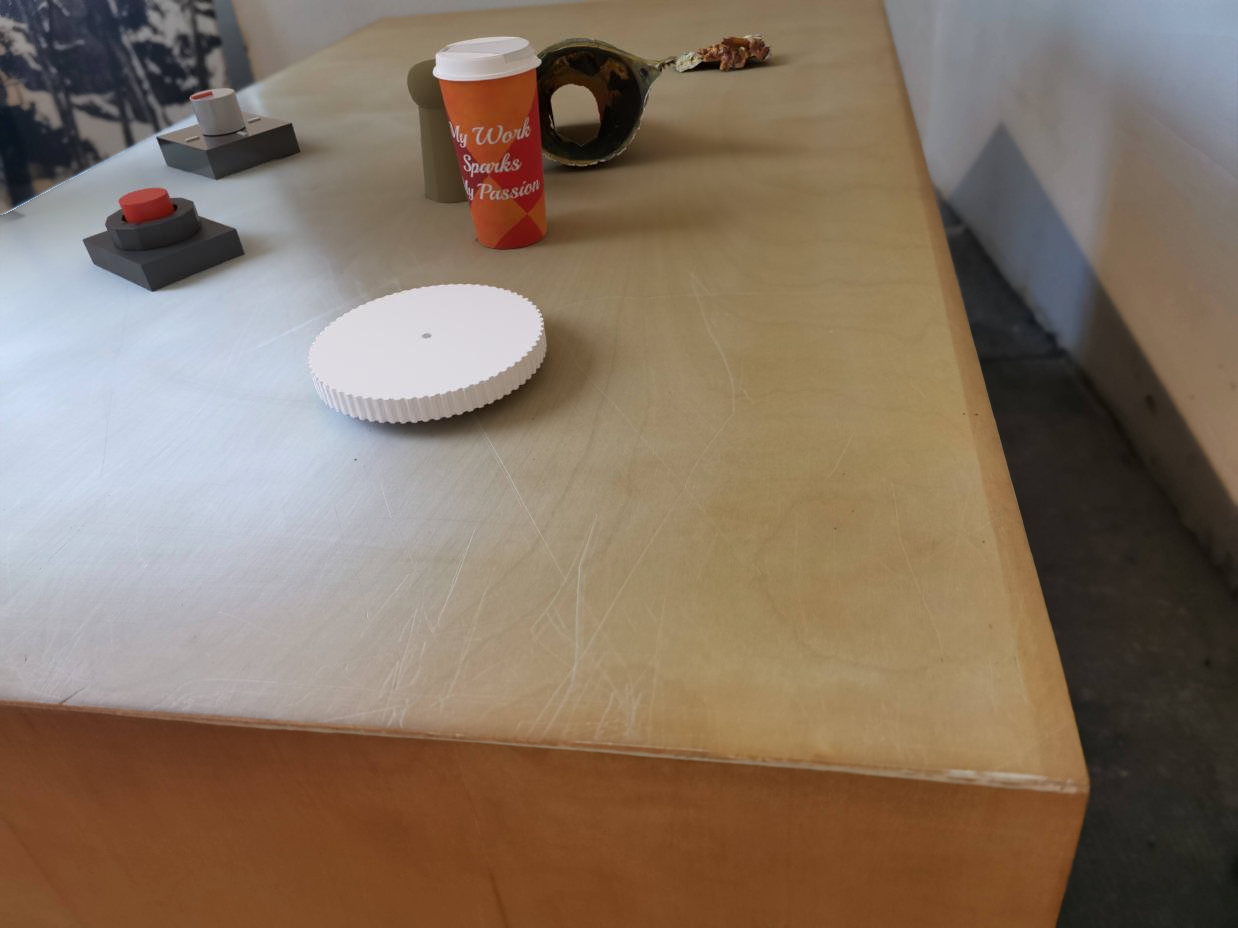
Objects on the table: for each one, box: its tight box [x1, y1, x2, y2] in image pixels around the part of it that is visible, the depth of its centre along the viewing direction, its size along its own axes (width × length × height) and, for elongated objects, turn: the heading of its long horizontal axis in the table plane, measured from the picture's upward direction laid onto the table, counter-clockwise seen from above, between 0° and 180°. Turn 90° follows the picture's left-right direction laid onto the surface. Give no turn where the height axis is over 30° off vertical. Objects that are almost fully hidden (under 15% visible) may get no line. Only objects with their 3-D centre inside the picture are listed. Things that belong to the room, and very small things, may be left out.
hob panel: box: [155, 111, 301, 181], centre depth 91 cm, size 10×10×3 cm
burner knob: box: [189, 87, 245, 135], centre depth 89 cm, size 4×4×4 cm
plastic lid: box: [306, 283, 548, 424], centre depth 52 cm, size 14×14×2 cm
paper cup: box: [433, 36, 547, 250], centre depth 65 cm, size 8×8×14 cm
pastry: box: [674, 33, 772, 73], centre depth 108 cm, size 7×12×4 cm, turn 98°
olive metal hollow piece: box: [536, 37, 679, 167], centre depth 84 cm, size 17×11×18 cm
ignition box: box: [81, 197, 246, 293], centre depth 69 cm, size 10×8×4 cm
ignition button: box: [118, 187, 175, 223], centre depth 68 cm, size 4×4×2 cm
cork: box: [406, 58, 468, 204], centre depth 76 cm, size 6×6×11 cm
